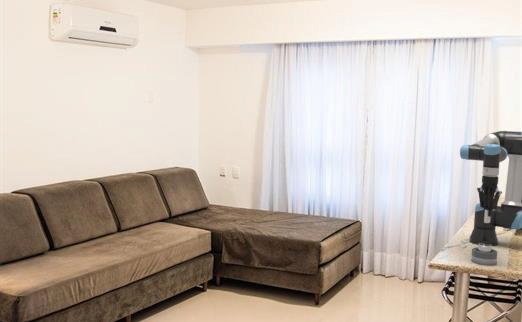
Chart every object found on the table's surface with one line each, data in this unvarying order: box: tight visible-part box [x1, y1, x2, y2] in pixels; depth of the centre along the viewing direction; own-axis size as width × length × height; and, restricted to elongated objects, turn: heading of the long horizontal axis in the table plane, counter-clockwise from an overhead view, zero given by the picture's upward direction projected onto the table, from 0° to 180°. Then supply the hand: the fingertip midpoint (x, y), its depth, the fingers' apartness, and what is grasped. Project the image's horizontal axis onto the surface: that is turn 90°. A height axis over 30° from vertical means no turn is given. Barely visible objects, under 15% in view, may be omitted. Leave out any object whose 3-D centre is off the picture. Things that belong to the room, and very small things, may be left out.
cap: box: [478, 242, 492, 252], centre depth 292 cm, size 6×6×6 cm
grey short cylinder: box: [470, 247, 498, 267], centre depth 292 cm, size 12×12×6 cm
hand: (487, 222), depth 291 cm, fingers closed
